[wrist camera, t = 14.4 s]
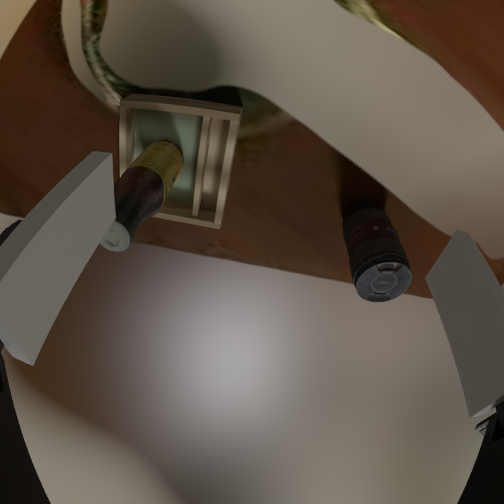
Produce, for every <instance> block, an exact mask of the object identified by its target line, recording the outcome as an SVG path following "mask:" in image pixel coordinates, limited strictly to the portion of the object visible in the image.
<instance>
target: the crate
mask: <svg viewBox="0 0 504 504" xmlns="http://www.w3.org/2000/svg"><path fill="white" fill-rule="evenodd" d="M242 110H243V107H240V106H234V105H228V104H222V103H216V102H209V101H202V100H194V99H186V98H178V97H168V96H157V95H145V94H131V95H129V96H127V97H125V98H124V99H122V100H120V132H119V148H120V177H121V176H122V174H123V173H124V172H125V171H126V169H127V168H128V167H129V166H130V165H131V164H132V163H133V162H134V160H135V159H136V158H137V157H138V156H139V155H140V154H141V153H142V152H143V151H144V150H145V149H146V148H147V147H148V146H149V145H150V144H152V143H154V142H156V141H158V140H163V139H167V140H169V141H172V142H174V143H175V144H177V145H178V146H179V147H180V149H181V151H182V154H183V159H184V163H183V167H182V170H181V172H180V174H179V175H178V177H177V179H176V181H175V183H174V184H173V186H172V188H171V190H170V192H169V194H168V195H167V197H166V199H165V201H164V203H163V205H162V207H161V208H160V210H159V211H158V213H157V214H155V215H154V216H152V217H157V218H162V219H168V220H173V221H179V222H184V223H189V224H195V225H200V226H206V227H211V228H216V229H220V227H221V223H222V219H223V215H224V210H225V204H226V198H227V192H228V186H229V181H230V175H231V169H232V164H233V158H234V153H235V147H236V142H237V137H238V131H239V126H240V121H241V116H242Z"/></svg>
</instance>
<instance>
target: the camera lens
mask: <svg viewBox="0 0 504 504" xmlns="http://www.w3.org/2000/svg"><path fill="white" fill-rule="evenodd" d="M343 235H344V240H345V244H346V247H347V251H348V255H349V263H350V270H351V274H352V279H353V284H354V286H355V288H356V291H357V293H358V295H359V296H360V297H361V298H363V299H364V300H367V301H370V302H385V301H389V300H392V299H394V298H396V297H398V296H400V295H401V294H402V293H403V292H405V291H406V290H407V288H408V287H409V285H410V282H411V278H412V275H411V271H410V270H411V267H410V264H409V261H408V259H407V256H406V254H405V251H404V249H403V247H402V245H401V243H400V238H399V235H398V233H397V231H396V229H395V228H394V227H393V225H392V223H391V221H390V219H389V217H388V216H387V215H386V213H385V212H384V210H383V209H382V208H381V207H379V206H378V205H377V204H375V203H374V202H371V201H359V202H356V203H354V204H352V205H351V206H350V207H349V208H348V209H347V210H346V212H345V214H344V218H343Z"/></svg>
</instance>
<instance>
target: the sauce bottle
mask: <svg viewBox="0 0 504 504" xmlns="http://www.w3.org/2000/svg"><path fill="white" fill-rule="evenodd" d="M183 163H184V159H183V154H182V151H181V149H180V147H179V146H178V145H177V144H175V143H174V142H172V141H169V140H167V139H163V140H158V141H156V142H154V143H152V144H150V145H149V146H148V147H147V148H146V149H145V150H144V151H143V152H142V153H141V154H140V155H139V156H138V157H137V158H136V159H135V160H134V162H133V163H132V164H131V165H130V166H129V167H128V168H127V169H126V171H125V172H124V173H123V174H122V176H121V177H120V179H119V180H118V181H117V182H116V184H115V185H114V201H115V213H116V219H115V220H114V221H113V223H112V224H111V226H110V227H109V229H108V230H107V232H106V233H105V235H104V237H103V238H102V240H101V241H100V244H101V245H102V246H104V247H105V248H106V249H108V250H112V251H123V250H125V249H127V248H128V246H129V245H130V243H131V242H132V240H133V239H134V234H135V231H136V229H137V227H138V226H139V225H140V224H141V223H142V222H144V221H145V220H147V219H149V218H150V217H152V216H154V215H155V214H157V213H158V211H159V210H160V208H161V207H162V205H163V203H164V201H165V199H166V197H167V195H168V194H169V192H170V190H171V188H172V186H173V184H174V183H175V181H176V179H177V177H178V175H179V174H180V172H181V170H182V167H183Z"/></svg>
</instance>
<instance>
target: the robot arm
mask: <svg viewBox="0 0 504 504" xmlns="http://www.w3.org/2000/svg"><path fill="white" fill-rule="evenodd" d="M115 219H116V213H115V201H114V186H113V165H112V153H106V152H97V151H93V152H92V153H91V154H90V155H89V156H87V157H86V158H85V159H84V160H83V161H82V162H81V163H79V164H78V165H77V166H76V167H75V168H74V169H73V170H72V171H71V172H70V173H69V174H67V175H66V176H65V177H64V178H63V179H62V180H61V181H60V182H59V183H58V184H57V185H56V186H55V187H54V188H53V189H52V190H51V191H50V192H49V193H48V194H47V195H46V196H45V197H44V198H43V199H42V200H41V201H40V202H39V203H38V204H37V205H36V206H35V207H34V208H33V209H32V211H31V212H30V213H29V214H28V215H27V216H26V217H25V218H24V219H23V220H18V221H16V222H15V223H13V224H12V225H10V226H9V227H8V228H6V229H5V230H4V231H3V232H2V233H1V235H0V504H51V503H50V501H49V499H48V497H47V495H46V493H45V491H44V488H43V486H42V484H41V482H40V480H39V477H38V475H37V472H36V470H35V468H34V465H33V463H32V460H31V457H30V455H29V452H28V449H27V446H26V444H25V441H24V438H23V435H22V432H21V429H20V425H19V422H18V419H17V415H16V412H15V408H14V404H13V400H12V396H11V392H10V388H9V383H8V378H7V374H6V368H5V363H4V359H3V357H2V355H1V351H2V349H3V347H4V346H5V347H6V348H7V350H8V351H9V352H10V354H11V355H12V356H13V357H15V358H17V359H19V360H21V361H23V362H26V363H28V364H30V365H32V366H33V365H34V362H35V360H36V358H37V356H38V354H39V351H40V349H41V347H42V345H43V343H44V341H45V339H46V337H47V335H48V333H49V331H50V329H51V327H52V325H53V323H54V320H55V319H56V317H57V315H58V313H59V311H60V309H61V307H62V305H63V304H64V302H65V300H66V298H67V296H68V294H69V293H70V291H71V289H72V287H73V286H74V284H75V282H76V280H77V279H78V277H79V275H80V274H81V272H82V270H83V268H84V267H85V265H86V264H87V262H88V260H89V259H90V257H91V255H92V254H93V252H94V251H95V249H96V247H97V246H98V244H99V243H100V241H101V240H102V238H103V237H104V235H105V233H106V232H107V230H108V229H109V227H110V226H111V224H112V223H113V221H114V220H115ZM425 279H426V282H427V284H428V286H429V289H430V291H431V294H432V296H433V299H434V302H435V304H436V306H437V309H438V312H439V314H440V317H441V320H442V323H443V326H444V329H445V331H446V335H447V337H448V340H449V343H450V347H451V350H452V353H453V356H454V359H455V363H456V366H457V369H458V373H459V376H460V380H461V384H462V388H463V391H464V395H465V399H466V403H467V408H468V412H469V417H470V418H471V417H477V416H482V415H484V414H486V413H487V412H489V411H490V410H492V409H493V408H494V407H496V411H497V412H496V413H494V414H493V415H491V416H490V417H488V418H487V419H485V420H483V421H482V422H480V423H479V424H477V426H476V428H475V429H476V430H477V429H479V428H481V427H483V426H484V425H486V427H485V428H483V429H481V430H480V431H479V433H481V434H482V435H483V436H484V439H483V442H482V445H481V448H480V450H479V453H478V456H477V459H476V461H475V464H474V467H473V469H472V472H471V474H470V477H469V479H468V481H467V484H466V486H465V489H464V491H463V493H462V495H461V497H460V499H459V501H458V503H457V504H504V292H503V290H502V288H501V286H500V284H499V282H498V281H497V279H496V277H495V275H494V273H493V272H492V270H491V268H490V267H489V265H488V263H487V262H486V260H485V258H484V257H483V255H482V253H481V252H480V250H479V249H478V247H477V245H476V244H475V242H474V241H473V239H472V238H471V236H470V235H469V234H468V233H466V232H463V231H460V230H456V231H455V233H454V235H453V236H452V238H451V239H450V241H449V243H448V244H447V246H446V247H445V249H444V250H443V252H442V254H441V255H440V257H439V258H438V260H437V261H436V263H435V264H434V266H433V267H432V269H431V270H430V271H429V273H428V274H427V276H426V277H425Z"/></svg>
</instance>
